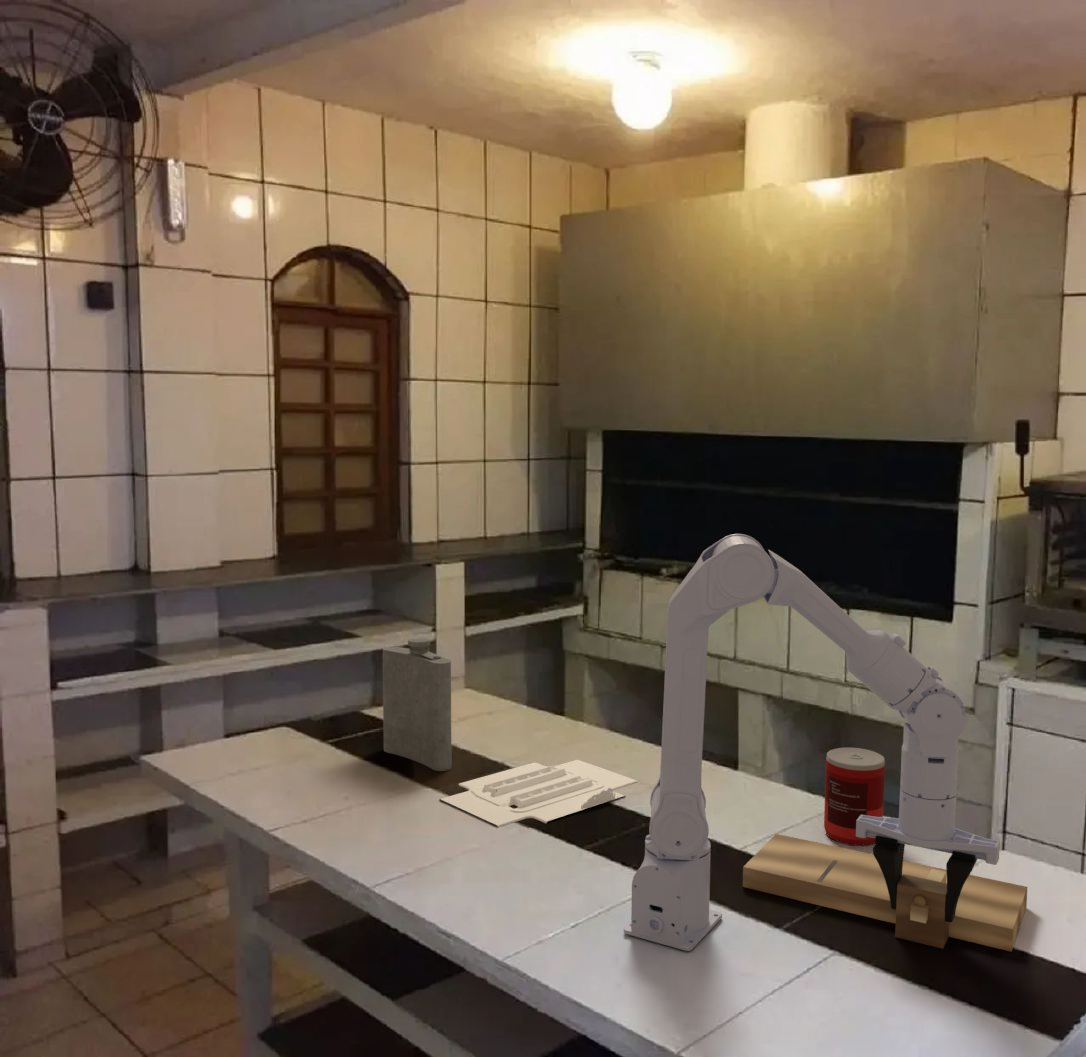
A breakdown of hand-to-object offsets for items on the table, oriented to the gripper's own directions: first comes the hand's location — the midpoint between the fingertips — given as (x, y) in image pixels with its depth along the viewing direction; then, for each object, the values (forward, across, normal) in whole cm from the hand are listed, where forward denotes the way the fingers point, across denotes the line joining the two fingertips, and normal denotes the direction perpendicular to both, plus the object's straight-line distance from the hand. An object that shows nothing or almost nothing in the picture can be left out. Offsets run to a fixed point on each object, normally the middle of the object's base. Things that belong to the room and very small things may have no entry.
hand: (922, 911), depth 116 cm
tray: (+4, +59, -17) cm, 62 cm away
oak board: (+3, +6, -8) cm, 10 cm away
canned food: (+3, +14, -25) cm, 29 cm away
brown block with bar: (+3, 0, -3) cm, 4 cm away
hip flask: (+3, +84, -20) cm, 87 cm away
